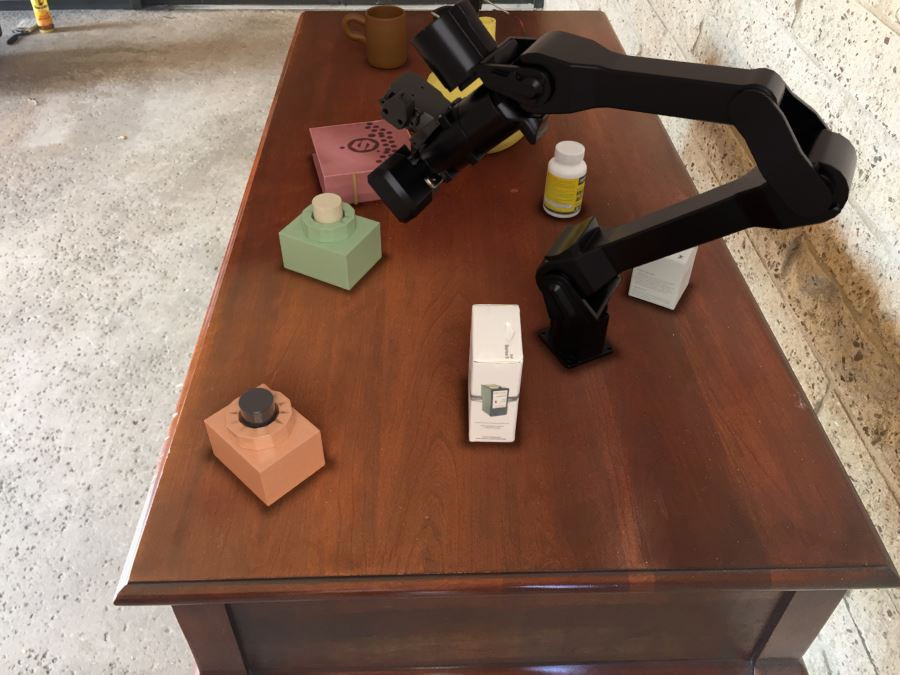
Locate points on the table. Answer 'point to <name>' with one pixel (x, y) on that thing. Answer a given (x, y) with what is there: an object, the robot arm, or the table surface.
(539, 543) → the table surface
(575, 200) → the supplement bottle
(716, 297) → the table surface
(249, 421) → the dark grey push button
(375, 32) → the mug
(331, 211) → the beige push button
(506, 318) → the ink box
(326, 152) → the book
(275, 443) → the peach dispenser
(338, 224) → the green push button box
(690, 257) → the white cardboard box
